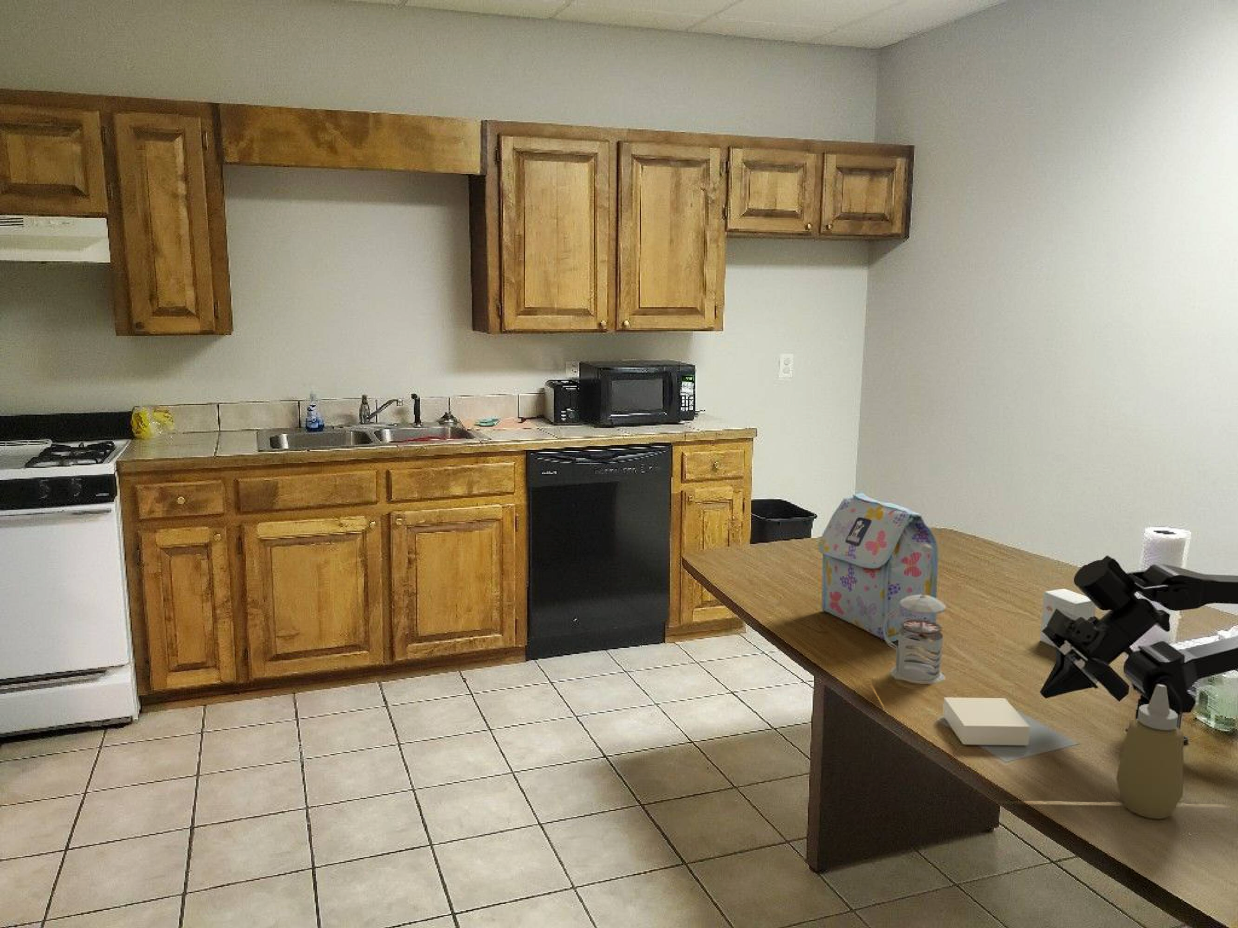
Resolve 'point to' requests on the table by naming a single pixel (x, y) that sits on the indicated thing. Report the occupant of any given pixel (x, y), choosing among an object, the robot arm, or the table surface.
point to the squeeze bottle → (1152, 760)
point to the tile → (985, 721)
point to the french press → (912, 664)
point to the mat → (1038, 742)
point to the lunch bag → (876, 564)
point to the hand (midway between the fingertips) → (1042, 695)
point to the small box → (1065, 607)
